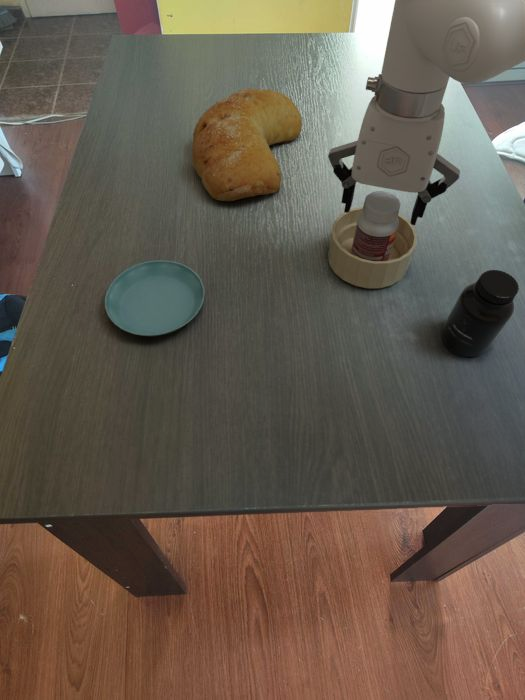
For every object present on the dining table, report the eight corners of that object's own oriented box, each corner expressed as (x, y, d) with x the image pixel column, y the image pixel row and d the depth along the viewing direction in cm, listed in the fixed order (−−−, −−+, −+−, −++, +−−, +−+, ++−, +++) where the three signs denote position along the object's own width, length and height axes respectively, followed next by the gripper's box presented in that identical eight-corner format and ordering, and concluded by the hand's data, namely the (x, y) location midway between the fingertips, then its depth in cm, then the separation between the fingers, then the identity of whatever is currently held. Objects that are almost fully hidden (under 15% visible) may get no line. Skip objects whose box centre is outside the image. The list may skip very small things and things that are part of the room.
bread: (220, 109, 104) (216, 61, 96) (307, 122, 101) (311, 73, 93) (167, 198, 86) (157, 148, 78) (270, 216, 83) (271, 166, 75)
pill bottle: (388, 274, 74) (406, 217, 65) (349, 271, 75) (362, 214, 65) (386, 247, 78) (403, 189, 68) (349, 245, 78) (361, 187, 69)
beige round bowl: (411, 243, 79) (421, 215, 74) (401, 298, 72) (411, 271, 67) (336, 228, 81) (341, 199, 76) (319, 280, 74) (323, 252, 69)
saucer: (95, 339, 68) (90, 328, 65) (126, 267, 76) (122, 255, 74) (194, 351, 66) (192, 340, 64) (214, 276, 75) (213, 264, 73)
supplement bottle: (439, 353, 66) (470, 297, 56) (440, 317, 70) (469, 258, 60) (489, 363, 65) (529, 308, 55) (487, 325, 69) (525, 268, 59)
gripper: (330, 98, 54) (317, 217, 68) (485, 121, 51) (438, 241, 65) (343, 69, 58) (328, 187, 72) (487, 89, 55) (442, 208, 69)
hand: (380, 212), depth 68 cm, fingers open, 9 cm apart
